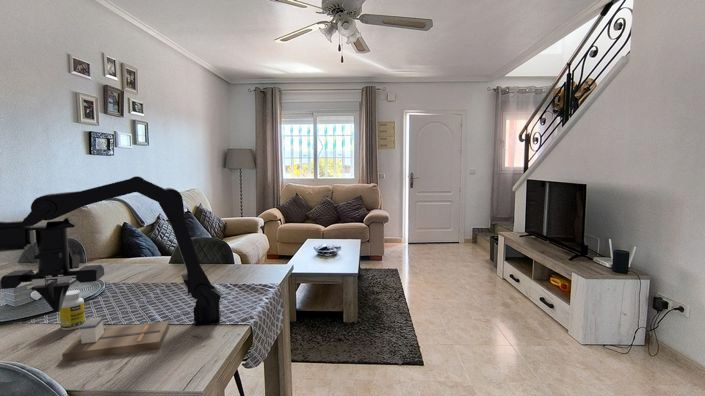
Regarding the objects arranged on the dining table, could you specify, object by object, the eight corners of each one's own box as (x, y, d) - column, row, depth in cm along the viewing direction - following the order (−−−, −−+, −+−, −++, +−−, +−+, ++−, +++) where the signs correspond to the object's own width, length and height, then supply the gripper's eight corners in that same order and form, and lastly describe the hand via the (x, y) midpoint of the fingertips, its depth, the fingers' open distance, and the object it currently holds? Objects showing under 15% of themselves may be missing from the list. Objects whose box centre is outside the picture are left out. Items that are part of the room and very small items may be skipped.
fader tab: (104, 332, 92) (103, 316, 91) (96, 342, 87) (95, 325, 86) (89, 334, 91) (88, 318, 90) (80, 343, 86) (79, 327, 85)
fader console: (169, 328, 99) (168, 320, 99) (159, 349, 88) (159, 341, 88) (84, 338, 93) (84, 330, 93) (62, 361, 82) (62, 353, 82)
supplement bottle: (71, 331, 97) (69, 296, 96) (55, 329, 98) (53, 295, 97) (90, 323, 102) (87, 289, 101) (74, 321, 103) (72, 288, 103)
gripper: (110, 238, 95) (113, 295, 96) (24, 242, 90) (29, 303, 91) (93, 247, 84) (97, 311, 86) (-5, 253, 79) (1, 321, 80)
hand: (57, 310), depth 86 cm, fingers closed
